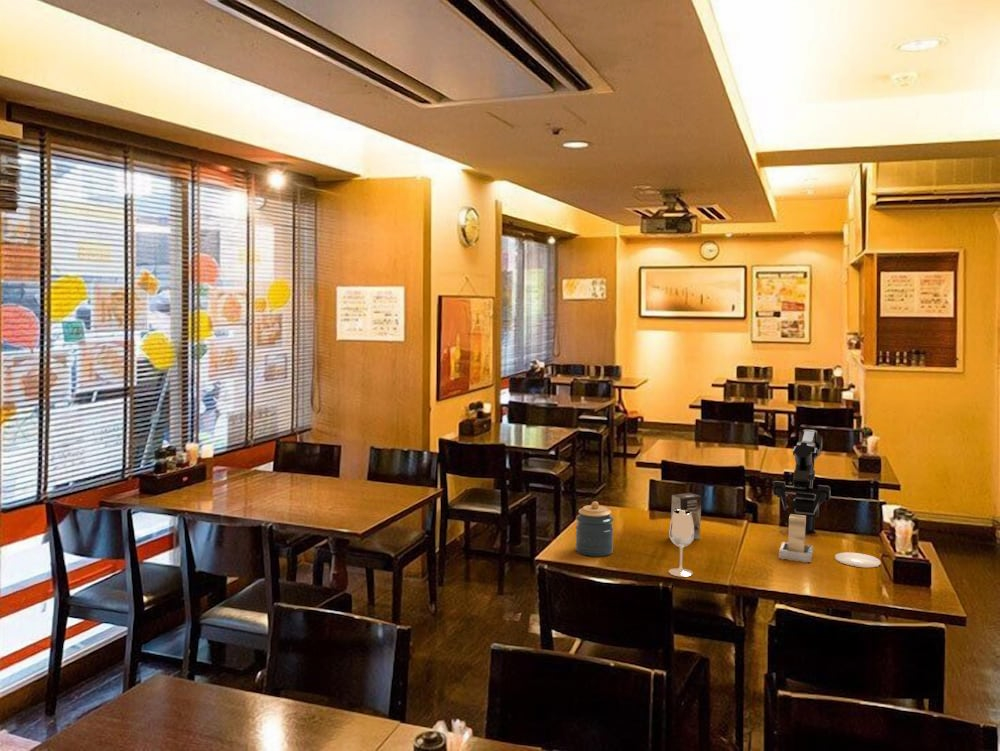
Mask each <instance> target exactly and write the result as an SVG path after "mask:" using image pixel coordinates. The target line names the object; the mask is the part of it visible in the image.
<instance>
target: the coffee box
mask: <svg viewBox="0 0 1000 751" xmlns="http://www.w3.org/2000/svg"><path fill="white" fill-rule="evenodd" d="M675 510H688V511H690V512H691V514H692V519H693V525H694V539H696V540H700V539H701V518H702V517H701V515H702V496H701V495H700V494H696V493H692V492H688V493H678V494H671V511H670V513H671V514H670V520H671V519H672V515H673V512H674V511H675ZM694 539H693V541H695V540H694Z"/></svg>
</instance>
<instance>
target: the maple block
mask: <svg viewBox="0 0 1000 751" xmlns="http://www.w3.org/2000/svg"><path fill="white" fill-rule="evenodd" d="M805 528H806V516H805V515H796V514H793V513H790V514H789V517H788V535H787V536H788V537H787V543H788V550H789V551H796V552H804V551H805V545H806V533H805Z"/></svg>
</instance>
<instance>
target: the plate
mask: <svg viewBox="0 0 1000 751" xmlns="http://www.w3.org/2000/svg"><path fill="white" fill-rule="evenodd" d="M834 559H835V561H837V562H838V563H841V564H842V563H843V565H845V564H846V566H849V565H850V566H849V567H854V566H855V567H856V568H866V569H867V568H869V569H870V568H877V567H879V565H880V566H881V565H882V564H881V560H880V559H879V558H878V557H875V556H873V555H870V554H864V553H860V552H847V551H846V552H840V553H836V554H835V555H834Z"/></svg>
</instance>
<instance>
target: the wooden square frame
mask: <svg viewBox="0 0 1000 751" xmlns="http://www.w3.org/2000/svg"><path fill="white" fill-rule="evenodd" d="M812 554H814V546H813V545H809V544H808V545H807V544H805V551H804V552H796V551H789V550H788V542H785V541H782V542H781V545H780V548H779V550H778V559H779V558H781V559H780V560H784V559H788V560H787V561H792V560H795V561H794V562H799V561H802V562H801V563H807V562H811V563H812V559H813V555H812ZM811 558H812V559H811Z"/></svg>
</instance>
